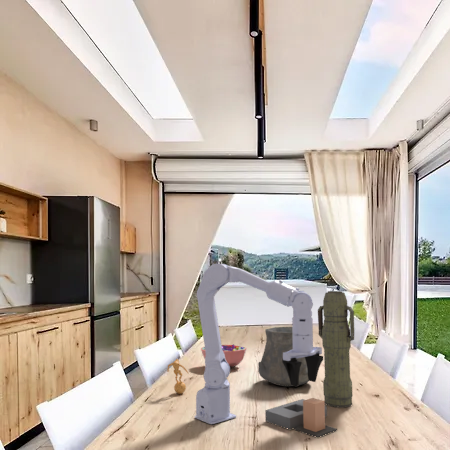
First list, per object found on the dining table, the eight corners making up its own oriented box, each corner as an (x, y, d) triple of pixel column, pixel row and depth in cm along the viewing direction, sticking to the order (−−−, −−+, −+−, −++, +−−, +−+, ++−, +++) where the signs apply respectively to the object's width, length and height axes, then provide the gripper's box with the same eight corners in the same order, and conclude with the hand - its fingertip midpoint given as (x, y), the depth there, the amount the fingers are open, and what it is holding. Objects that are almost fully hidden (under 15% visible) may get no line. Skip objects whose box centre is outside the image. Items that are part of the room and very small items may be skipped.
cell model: (247, 372, 185) (247, 344, 186) (199, 372, 185) (199, 344, 186) (246, 363, 202) (245, 337, 203) (201, 363, 202) (201, 337, 203)
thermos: (324, 396, 149) (321, 290, 152) (360, 402, 143) (356, 291, 146) (315, 403, 142) (312, 291, 145) (352, 410, 135) (348, 292, 139)
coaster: (318, 438, 113) (318, 436, 113) (293, 429, 120) (293, 427, 120) (337, 430, 119) (337, 428, 119) (312, 422, 125) (312, 421, 125)
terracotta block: (315, 431, 117) (314, 404, 117) (303, 427, 120) (303, 400, 120) (325, 428, 119) (324, 401, 120) (313, 424, 122) (312, 397, 123)
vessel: (292, 396, 150) (291, 335, 152) (246, 383, 167) (245, 328, 169) (331, 384, 165) (329, 329, 166) (285, 374, 181) (284, 323, 183)
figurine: (193, 393, 154) (193, 357, 155) (184, 398, 149) (184, 361, 150) (172, 390, 158) (172, 355, 159) (163, 395, 152) (163, 359, 153)
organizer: (289, 429, 119) (289, 418, 120) (265, 421, 126) (265, 410, 126) (326, 416, 130) (326, 405, 130) (302, 409, 136) (302, 399, 137)
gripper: (296, 338, 120) (297, 391, 119) (329, 333, 129) (331, 381, 128) (277, 335, 126) (277, 385, 124) (310, 330, 135) (311, 377, 134)
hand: (303, 383), depth 127 cm, fingers open, 7 cm apart
